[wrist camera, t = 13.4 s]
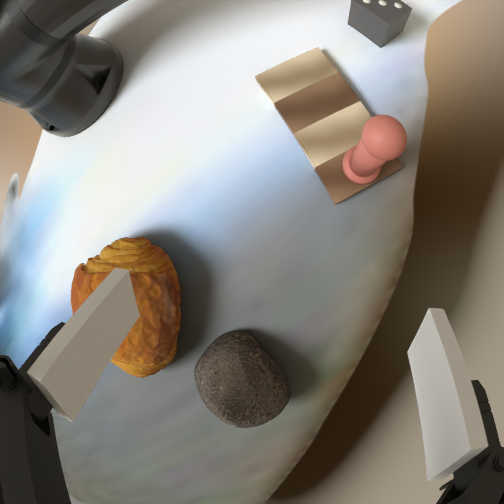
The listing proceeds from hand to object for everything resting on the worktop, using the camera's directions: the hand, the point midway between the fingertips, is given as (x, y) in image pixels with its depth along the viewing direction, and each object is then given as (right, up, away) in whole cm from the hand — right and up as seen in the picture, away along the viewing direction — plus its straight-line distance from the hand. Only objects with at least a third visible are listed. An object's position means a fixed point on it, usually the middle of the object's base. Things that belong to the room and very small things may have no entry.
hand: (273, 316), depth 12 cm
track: (+7, +16, +16) cm, 24 cm away
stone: (-1, -10, +19) cm, 22 cm away
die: (+14, +30, +14) cm, 36 cm away
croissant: (-14, -3, +21) cm, 26 cm away
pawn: (+10, +11, +15) cm, 21 cm away
